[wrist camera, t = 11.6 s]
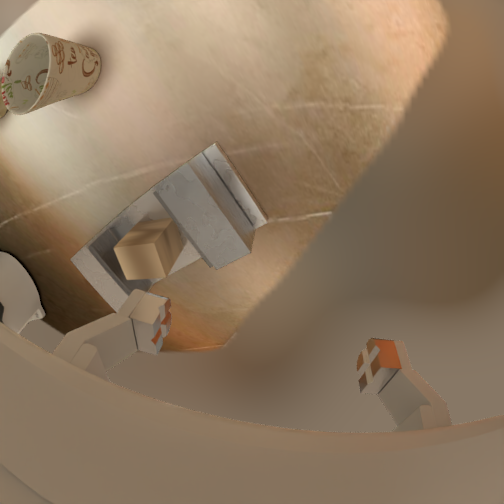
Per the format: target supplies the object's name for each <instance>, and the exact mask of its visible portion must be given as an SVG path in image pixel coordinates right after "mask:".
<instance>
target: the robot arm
mask: <svg viewBox="0 0 504 504" xmlns="http://www.w3.org/2000/svg"><path fill="white" fill-rule="evenodd" d="M170 307H171V300H170V299H169V298H166V297H163V296H159V295H156V294H152V293H149V292H145V291H142V290H139V289H135V290H133V291H132V293H131V294H130V295H129V297H128V298H127V300H126V301H125V302H124V304H123V305H122V306H121V308H120V309H119V311H118V312H117V313H116V314H115V313H112V314H109V315H107V316H105V317H103V318H100V319H98V320H96V321H93V322H91V323H89V324H87V325H84V326H82V327H80V328H77V329H75V330H73V331H70V332H68V333H67V334H66V335H65V336H64V338H63V339H62V340H61V342H60V343H59V345H58V346H57V347H56V348H55V350H54V351H53V353H52V354H51V353H49V352H48V351H46V350H44V349H42V348H40V347H39V346H37V345H35V344H34V343H32V342H30V341H29V340H27V339H26V338H24V337H22V336H20V335H19V333H21V332H22V330H23V328H24V327H25V325H27V324H28V323H29V321H33V320H37V319H41V318H43V317H44V316H45V312H44V310H43V308H42V306H41V303H40V298H39V294H38V291H37V289H36V287H35V284H34V283H33V281H32V279H31V277H30V276H29V274H28V273H27V271H26V270H25V269H24V267H23V266H22V265H21V264H20V263H19V262H18V261H17V260H16V259H15V258H14V257H13V256H11V255H10V254H8V253H4V252H0V504H504V415H497V416H493V417H489V418H485V419H481V420H477V421H472V422H467V423H462V424H456V425H452V422H451V418H450V414H449V410H448V407H447V403H446V402H445V401H444V400H443V399H442V398H441V397H440V396H439V394H438V393H437V392H436V391H435V390H434V389H433V388H432V387H431V386H430V385H429V384H428V383H427V382H426V381H425V380H424V379H423V378H422V377H421V376H420V375H419V373H418V372H417V371H416V370H412V367H411V363H410V360H409V357H408V354H407V351H406V348H405V345H404V342H403V341H399V340H388V339H379V338H371V339H369V340H368V342H367V344H366V345H367V348H366V349H364V350H363V351H362V352H361V353H360V355H359V357H358V361H357V371H358V373H359V374H360V375H361V378H360V379H359V386H360V393H365V394H378V397H379V398H380V400H381V401H382V403H383V405H384V406H385V408H386V409H387V411H388V412H389V414H390V415H391V416H392V418H393V419H394V421H395V423H396V424H397V427H396V428H395V429H393V430H392V431H391V432H368V433H365V432H364V433H362V432H361V433H360V432H352V433H351V432H326V431H312V430H301V429H291V428H282V427H275V426H268V425H261V424H255V423H249V422H244V421H238V420H233V419H228V418H224V417H219V416H215V415H210V414H206V413H202V412H199V411H195V410H191V409H187V408H184V407H180V406H177V405H173V404H170V403H167V402H163V401H161V400H157V399H155V398H152V397H149V396H145V395H143V394H140V393H137V392H135V391H132V390H129V389H127V388H124V387H122V386H119V385H116V384H114V383H111V382H110V381H109V378H108V376H107V373H106V372H107V371H108V370H110V369H111V368H113V367H115V366H116V365H117V364H119V363H121V362H122V361H124V360H125V359H127V358H128V357H130V356H131V355H133V354H134V353H136V352H137V351H138V350H139V351H143V352H146V353H150V354H153V355H157V354H158V352H159V350H160V348H161V346H162V344H163V341H162V338H163V337H165V336H167V334H168V332H169V329H170V325H171V319H172V318H171V313H170V312H169V309H170Z"/></svg>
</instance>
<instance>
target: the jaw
mask: <svg viewBox="0 0 504 504" xmlns="http://www.w3.org/2000/svg"><path fill="white" fill-rule="evenodd" d="M154 189H155V190H156V191H154V192H153V194H154V195H155V197H156V198H157V199H158V201H159V202H160V204H161V205H162V206H163V208H164V209H165V210H166V212H167V213H168V214H169V216H170V217H171V218H172V219H173V221H174V222H175V223H176V225H177V226H178V227H179V229H180V230H181V231H182V233H183V234H184V235H185V236H186V238H187V239H188V240H189V242H190V243H191V244H192V245H193V247H194V248H195V249H196V251H197V252H198V253H199V254H200V256H201V257H202V258H203V259H204V261H205V262H206V263H207V264H208V266H209V267H212V266H214V267H215V269H216V270H217V269H219V268H221V267H223V266H225V265H227V264H229V263H231V262H233V261H235V260H237V259H239V258H241V257H243V256H245V255H247V254H249V253H251V250H252V244H253V239H254V234H255V229H254V228H253V226H252V225H251V223H250V222H249V220H248V219H247V217H246V216H245V214H244V213H243V212H242V210H241V209H240V207H239V206H238V204H237V203H236V201H235V200H234V198H233V197H232V195H231V194H230V193H229V191H228V190H227V188H226V187H225V185H224V184H223V182H222V181H221V179H220V178H219V177H218V175H217V174H216V172H215V171H214V169H213V168H212V166H211V165H210V164H209V162H208V161H207V159H206V158H205V156H204V155H203V153H202V152H201V153H199V154H198V155H196V156H195V157H193V158H192V159H191V160H189V161H188V162H186V163H185V164H183V165H182V166H181V167H179V168H178V169H177V170H175V171H174V172H172V173H171V174H170V175H168V176H167V177H166V178H164V179H163V180H162V181H161V182H159V183H158V184H157V185H155V186H154Z"/></svg>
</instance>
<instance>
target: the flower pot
mask: <svg viewBox="0 0 504 504" xmlns="http://www.w3.org/2000/svg"><path fill="white" fill-rule="evenodd" d="M6 111H7V107H6V106H5V103H4V101H3V97H2V81H0V118H1V117H3V116H4V115H5V114H6Z"/></svg>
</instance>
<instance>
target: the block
mask: <svg viewBox="0 0 504 504" xmlns="http://www.w3.org/2000/svg"><path fill="white" fill-rule="evenodd" d="M182 250H183V244H182V241H181V238H180V234H179V231H178V227H177V225H176V223H175V222H174V221H173V219H172V218H165V219H158V220H152V221H145V222H139V223H137V224H136V225H135V226H134V227H133V228H132V229H131V230H130V231H129V232H128V233H127V234H126V235H125V236H124V237H123V238H122V239H121V240H120V241H119V242H118V243H117V244H116V246H115V247H114V251H115V253H116V256H117V258H118V261H119V263H120V265H121V268H122V270H123V272H124V275H125V277H126V279H127V280H135V279H154V278H167V276H168V274H169V272H170V271H171V269H172V267H173V265H174V264H175V262H176V260H177V258H178V257H179V255H180V253H181V252H182Z"/></svg>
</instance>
